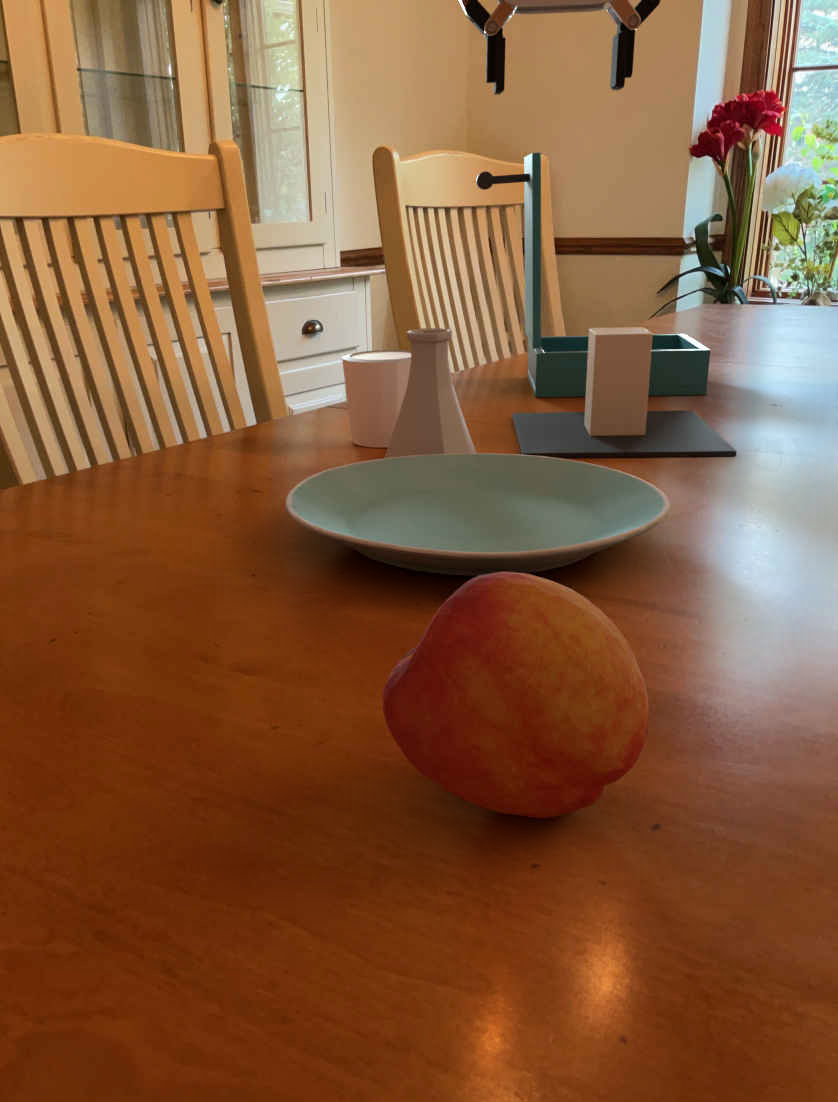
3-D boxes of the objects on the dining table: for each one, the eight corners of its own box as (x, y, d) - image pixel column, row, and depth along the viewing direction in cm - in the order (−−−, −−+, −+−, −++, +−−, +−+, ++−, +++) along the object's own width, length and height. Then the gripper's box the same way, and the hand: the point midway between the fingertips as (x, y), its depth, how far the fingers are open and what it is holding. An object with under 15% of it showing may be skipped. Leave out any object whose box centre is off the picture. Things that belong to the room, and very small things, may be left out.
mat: (692, 414, 93) (692, 410, 93) (736, 456, 79) (736, 450, 79) (512, 417, 95) (512, 412, 95) (522, 458, 80) (522, 453, 80)
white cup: (380, 453, 83) (378, 363, 80) (328, 440, 88) (324, 355, 85) (443, 439, 87) (443, 353, 84) (389, 428, 92) (388, 346, 89)
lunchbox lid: (532, 156, 106) (475, 160, 107) (541, 152, 95) (477, 157, 96) (532, 332, 113) (478, 335, 114) (540, 348, 102) (481, 351, 102)
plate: (542, 475, 75) (543, 436, 74) (751, 565, 56) (757, 514, 55) (244, 514, 68) (241, 471, 67) (368, 633, 49) (367, 576, 48)
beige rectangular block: (636, 424, 88) (643, 326, 85) (645, 435, 84) (652, 333, 81) (584, 425, 89) (589, 328, 86) (590, 436, 85) (595, 334, 82)
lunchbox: (681, 374, 114) (684, 333, 112) (706, 394, 102) (710, 349, 100) (527, 376, 115) (528, 336, 113) (535, 397, 103) (536, 353, 102)
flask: (494, 462, 79) (497, 326, 75) (452, 485, 73) (453, 338, 70) (410, 453, 83) (408, 323, 79) (364, 474, 77) (360, 335, 73)
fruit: (484, 719, 41) (488, 522, 38) (678, 787, 36) (701, 566, 33) (349, 804, 35) (340, 582, 32) (556, 898, 30) (569, 646, 27)
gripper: (673, -154, 82) (655, 91, 89) (452, -142, 83) (451, 98, 90) (695, -186, 75) (674, 82, 82) (454, -172, 76) (452, 90, 83)
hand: (557, 90), depth 86 cm, fingers open, 9 cm apart
